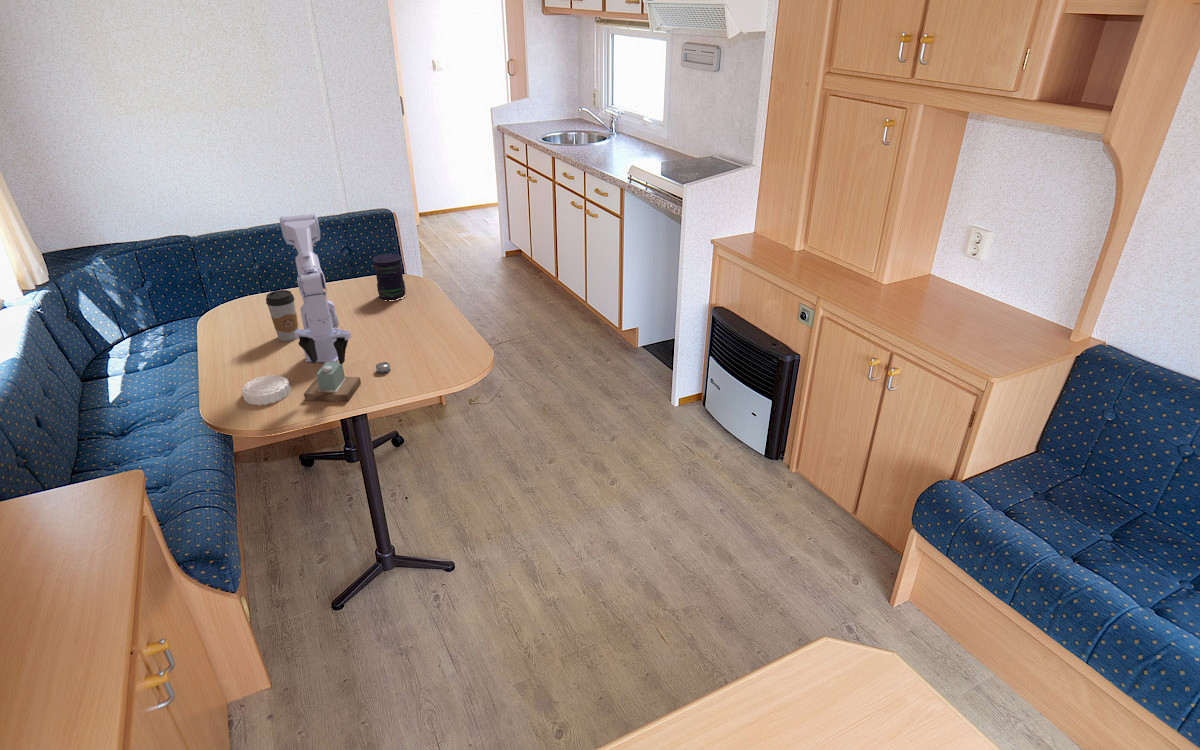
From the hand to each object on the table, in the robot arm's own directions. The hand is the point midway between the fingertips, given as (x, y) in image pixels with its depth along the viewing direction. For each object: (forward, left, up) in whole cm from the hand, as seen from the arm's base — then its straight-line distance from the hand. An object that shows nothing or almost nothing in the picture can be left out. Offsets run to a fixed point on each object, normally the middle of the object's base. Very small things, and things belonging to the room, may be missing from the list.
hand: (328, 361), depth 188 cm
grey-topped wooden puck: (+10, +13, -10) cm, 19 cm away
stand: (0, 0, -9) cm, 9 cm away
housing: (0, 0, -7) cm, 7 cm away
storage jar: (-5, +70, -10) cm, 70 cm away
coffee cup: (-28, +34, -10) cm, 45 cm away
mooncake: (-18, -2, -10) cm, 21 cm away
